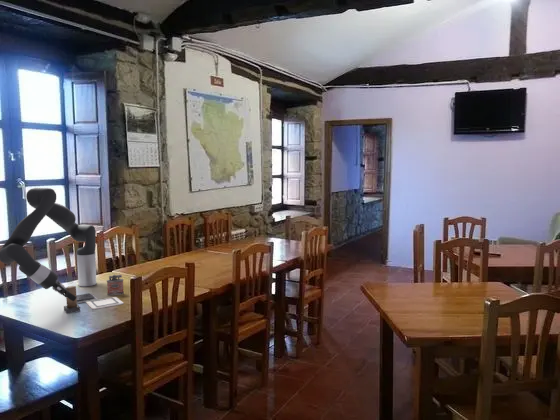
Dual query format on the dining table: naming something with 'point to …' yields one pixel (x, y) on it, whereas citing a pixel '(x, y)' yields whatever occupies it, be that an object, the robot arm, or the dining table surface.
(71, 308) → the stamp
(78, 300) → the ink pad
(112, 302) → the marked board
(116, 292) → the lighter
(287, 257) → the dining table surface
